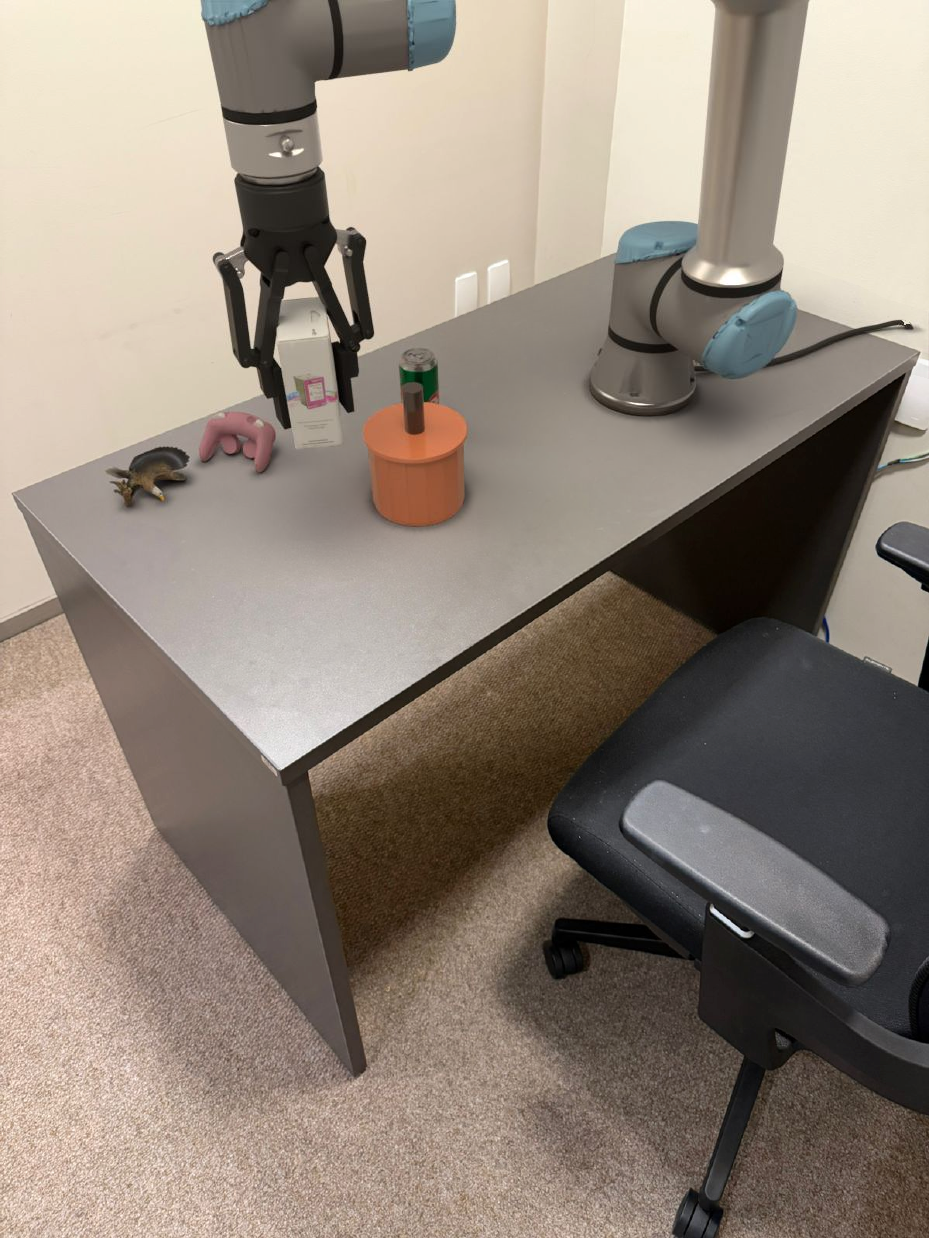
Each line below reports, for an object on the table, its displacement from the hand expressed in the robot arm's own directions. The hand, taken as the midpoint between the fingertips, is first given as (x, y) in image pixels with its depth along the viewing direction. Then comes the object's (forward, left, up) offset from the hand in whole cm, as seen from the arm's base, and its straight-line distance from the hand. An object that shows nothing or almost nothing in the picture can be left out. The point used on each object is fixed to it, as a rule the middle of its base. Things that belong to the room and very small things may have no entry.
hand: (315, 413), depth 88 cm
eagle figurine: (+17, -22, -19) cm, 34 cm away
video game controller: (+5, -25, -19) cm, 32 cm away
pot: (-13, -6, -19) cm, 24 cm away
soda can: (-19, -19, -19) cm, 33 cm away
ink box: (0, 0, -1) cm, 1 cm away
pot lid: (-13, -6, -10) cm, 17 cm away
